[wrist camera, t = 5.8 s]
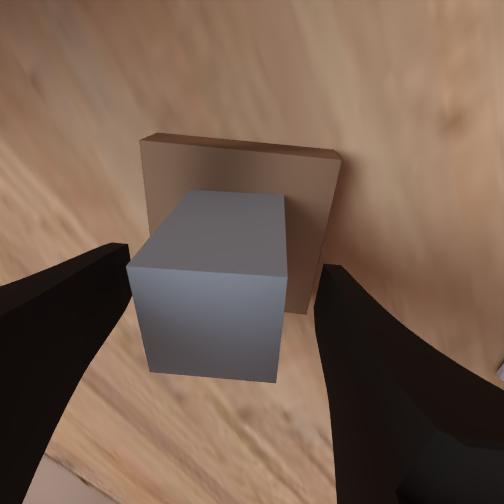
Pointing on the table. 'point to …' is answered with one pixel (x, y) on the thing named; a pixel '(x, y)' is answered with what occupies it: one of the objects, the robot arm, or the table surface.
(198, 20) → the table surface
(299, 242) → the walnut slab
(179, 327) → the blue block
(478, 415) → the robot arm
